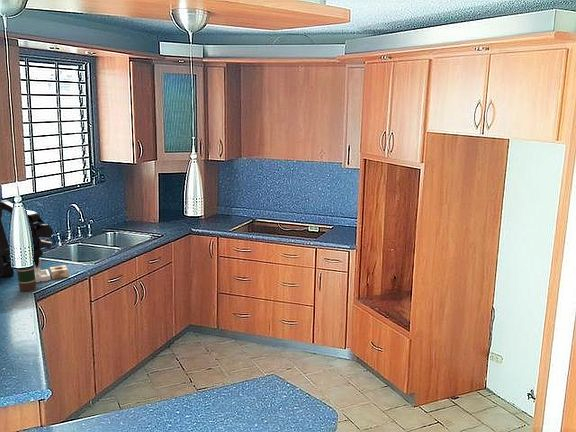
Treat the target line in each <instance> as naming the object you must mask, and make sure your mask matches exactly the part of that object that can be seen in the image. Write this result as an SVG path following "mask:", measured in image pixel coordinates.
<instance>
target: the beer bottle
mask: <svg viewBox="0 0 576 432" xmlns="http://www.w3.org/2000/svg"><path fill="white" fill-rule="evenodd" d="M16 273H17V281H18V289H19V291H20V292H22V293H28V292H32V290H33V291H35V290H36V289H37V282H36V280H35V271H34V266H33V267H31V268H25V269H17V268H16Z"/></svg>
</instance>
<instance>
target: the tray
mask: <svg viewBox="0 0 576 432" xmlns="http://www.w3.org/2000/svg"><path fill="white" fill-rule="evenodd" d="M40 270H41V277H35V280H36V283H40V281H42V282H47V281H48V280H49V281H51V279H52V277H51V273H50V272H49V271H50V270H49V269H40ZM49 281H48V282H49Z"/></svg>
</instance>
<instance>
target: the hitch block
mask: <svg viewBox="0 0 576 432" xmlns="http://www.w3.org/2000/svg"><path fill="white" fill-rule="evenodd" d="M49 271H50V272H49V274H50V278H51V279H52V280H54V279H55V278H56V279H62V277H63V278H68V277H69V269H68V266H66V264H64V265H58V266H57V265H56V266H50V267H49Z"/></svg>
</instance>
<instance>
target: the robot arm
mask: <svg viewBox="0 0 576 432" xmlns="http://www.w3.org/2000/svg"><path fill="white" fill-rule="evenodd" d="M13 204H14V203H12V202H10V201H9V200H7V199H4V200H0V279H3V278H11V277H14V274H15V272H14V267H13V268H11V265H10V257H9V246H10V244H9V241H8V238H7V235H6V232H5V229H4V226H3V225H4V224H3V222H2V218H3V211H6V212H8V213H10V214H12V208H13ZM25 210H26V209H25ZM26 211H27V215H28V218H29V223H30V226H31V231H32V237H33V244H34V262H35V266H36V267H37V266H38V265H39V259H40V258H41V256H43V255H44V251H43V249H42V248H45V249H49V250H50V249H52V246H53V245H52V244H53V242H52V241H50V239H49V238H51V237H52V236H53V232H54V230H53V228H52V227H51V226H50V224H49V223H47V224H45V222H44V220H43V219H42V218H41V217H40V215H39V213H38V212H36V211H33V210H26ZM41 238H44V239H41Z"/></svg>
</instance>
